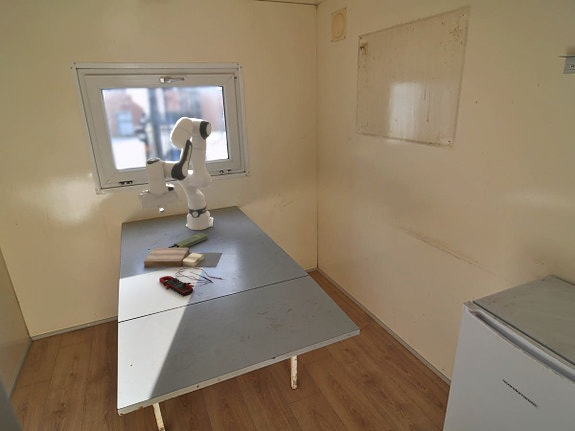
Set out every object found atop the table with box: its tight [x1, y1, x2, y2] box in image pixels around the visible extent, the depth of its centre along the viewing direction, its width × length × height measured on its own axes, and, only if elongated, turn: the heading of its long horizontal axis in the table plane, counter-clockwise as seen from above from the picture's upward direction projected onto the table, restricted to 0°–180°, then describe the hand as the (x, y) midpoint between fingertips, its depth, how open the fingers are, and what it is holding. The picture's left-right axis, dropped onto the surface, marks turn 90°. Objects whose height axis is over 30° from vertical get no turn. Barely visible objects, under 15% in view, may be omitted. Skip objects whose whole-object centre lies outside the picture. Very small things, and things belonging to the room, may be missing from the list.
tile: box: [182, 252, 204, 268], centre depth 188 cm, size 10×7×2 cm
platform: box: [143, 247, 191, 268], centre depth 191 cm, size 16×20×4 cm
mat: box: [181, 252, 222, 268], centre depth 191 cm, size 16×18×1 cm
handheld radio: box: [167, 232, 209, 248], centre depth 209 cm, size 7×3×25 cm
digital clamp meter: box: [158, 267, 226, 298], centre depth 170 cm, size 23×4×25 cm
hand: (162, 212), depth 190 cm, fingers closed
